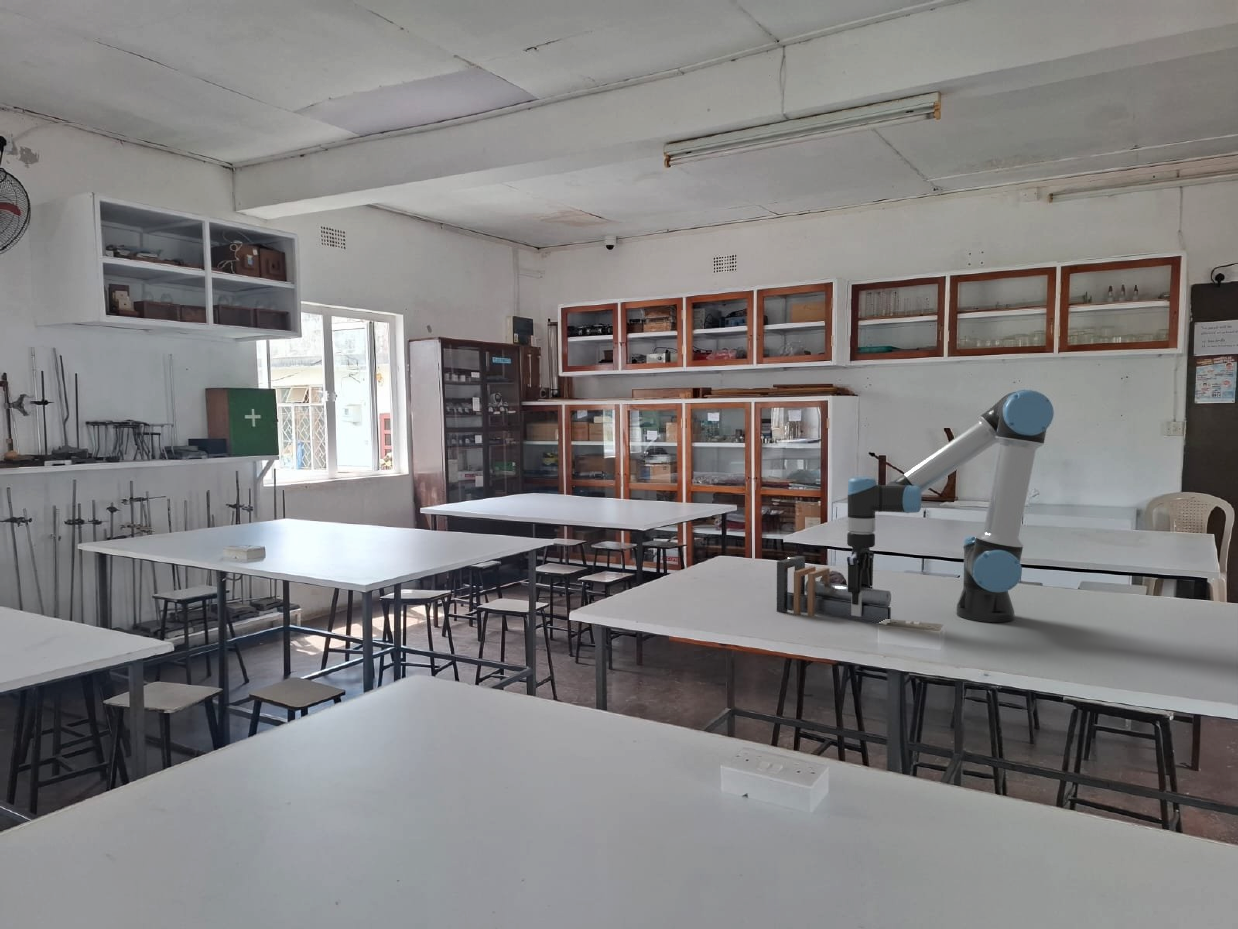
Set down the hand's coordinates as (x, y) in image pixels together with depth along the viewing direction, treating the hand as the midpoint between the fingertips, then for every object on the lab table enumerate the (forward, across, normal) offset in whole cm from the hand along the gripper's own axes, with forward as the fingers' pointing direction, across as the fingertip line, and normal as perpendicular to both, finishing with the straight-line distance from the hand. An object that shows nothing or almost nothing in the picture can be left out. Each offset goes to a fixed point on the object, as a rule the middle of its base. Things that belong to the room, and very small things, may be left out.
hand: (860, 613), depth 225 cm
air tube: (-3, 0, -4) cm, 5 cm away
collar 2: (+2, 0, -13) cm, 13 cm away
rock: (+2, -18, -17) cm, 25 cm away
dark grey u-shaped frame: (+2, 0, -22) cm, 22 cm away
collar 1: (+2, 0, -17) cm, 17 cm away
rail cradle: (+2, 0, -8) cm, 8 cm away
